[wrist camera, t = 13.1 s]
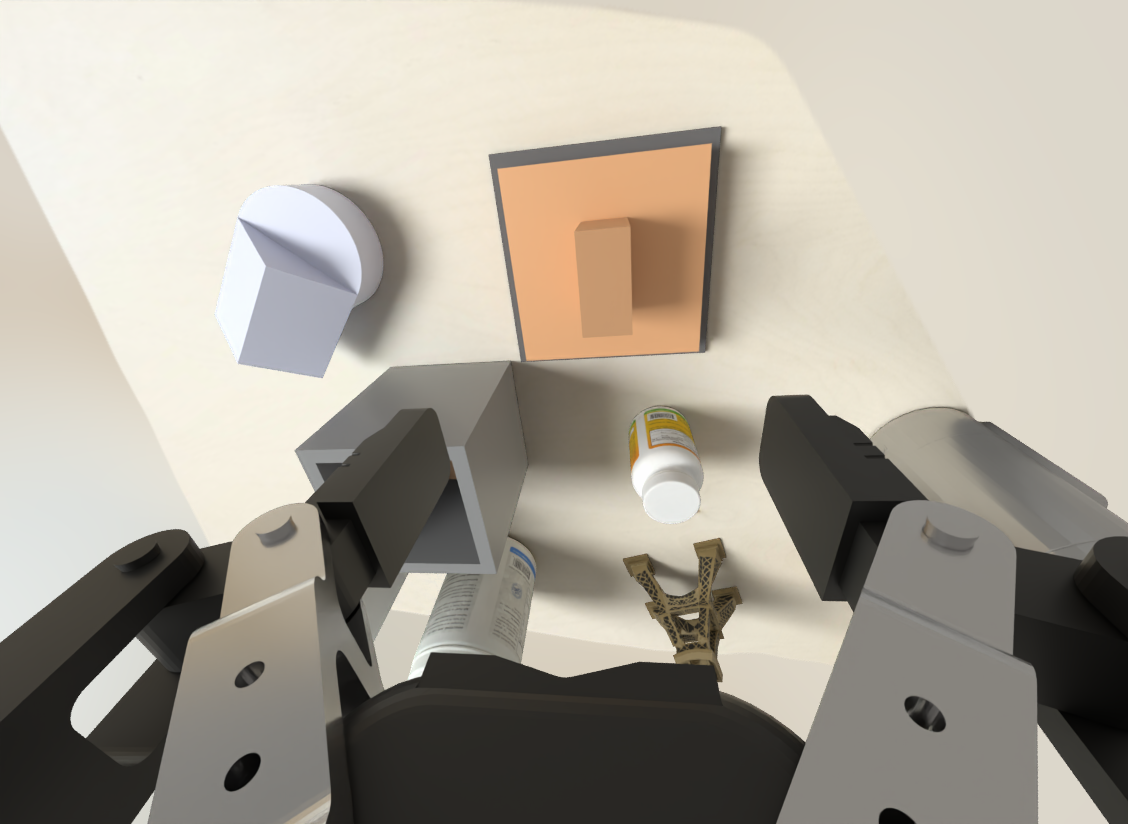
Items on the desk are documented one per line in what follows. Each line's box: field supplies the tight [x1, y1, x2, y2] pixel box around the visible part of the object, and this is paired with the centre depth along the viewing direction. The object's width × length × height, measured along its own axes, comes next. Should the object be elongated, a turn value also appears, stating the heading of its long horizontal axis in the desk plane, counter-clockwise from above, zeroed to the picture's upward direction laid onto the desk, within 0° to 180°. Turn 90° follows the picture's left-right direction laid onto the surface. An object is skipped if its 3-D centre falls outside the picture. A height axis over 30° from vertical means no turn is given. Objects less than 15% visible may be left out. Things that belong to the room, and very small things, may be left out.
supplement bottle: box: [629, 406, 704, 524], centre depth 34 cm, size 5×5×10 cm
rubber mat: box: [489, 126, 721, 362], centre depth 31 cm, size 15×15×1 cm
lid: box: [497, 143, 712, 361], centre depth 27 cm, size 13×13×8 cm
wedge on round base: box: [215, 184, 384, 378], centre depth 31 cm, size 9×7×13 cm
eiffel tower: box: [623, 538, 742, 682], centre depth 36 cm, size 11×11×25 cm
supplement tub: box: [408, 537, 536, 680], centre depth 42 cm, size 10×10×15 cm
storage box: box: [295, 361, 528, 574], centre depth 34 cm, size 11×11×13 cm
